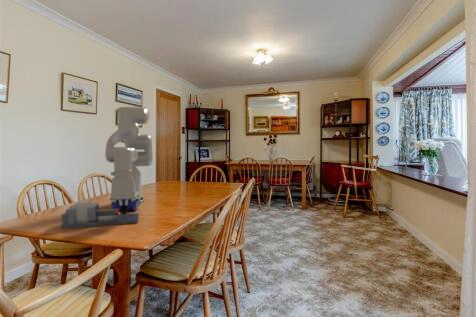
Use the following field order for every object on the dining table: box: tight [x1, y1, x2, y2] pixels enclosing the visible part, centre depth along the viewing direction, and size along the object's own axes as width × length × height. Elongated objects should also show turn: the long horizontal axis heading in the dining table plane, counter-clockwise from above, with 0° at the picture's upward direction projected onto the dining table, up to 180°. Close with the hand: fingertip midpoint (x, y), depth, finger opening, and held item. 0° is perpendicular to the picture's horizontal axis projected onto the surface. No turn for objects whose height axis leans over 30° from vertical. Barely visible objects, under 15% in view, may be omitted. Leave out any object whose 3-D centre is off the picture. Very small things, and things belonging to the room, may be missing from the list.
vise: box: [61, 204, 140, 230], centre depth 121 cm, size 10×30×8 cm, turn 108°
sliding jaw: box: [87, 202, 121, 221], centre depth 121 cm, size 9×13×6 cm
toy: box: [109, 191, 144, 212], centre depth 147 cm, size 10×17×15 cm
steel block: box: [75, 200, 92, 222], centre depth 119 cm, size 5×5×8 cm
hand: (124, 213), depth 124 cm, fingers closed
